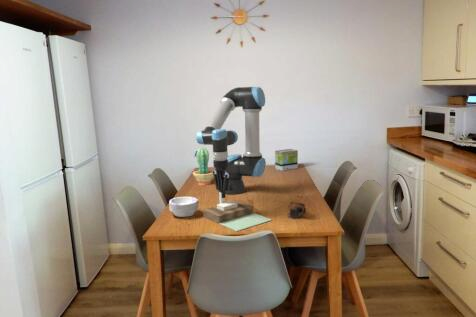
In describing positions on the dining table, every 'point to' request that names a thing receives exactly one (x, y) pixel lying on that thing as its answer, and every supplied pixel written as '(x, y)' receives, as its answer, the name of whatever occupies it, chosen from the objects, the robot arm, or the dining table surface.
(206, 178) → the potted cactus
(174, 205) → the white round bowl
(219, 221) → the board
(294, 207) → the pottery mug
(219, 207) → the white flat block
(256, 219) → the mat
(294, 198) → the dining table surface
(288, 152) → the tea box
